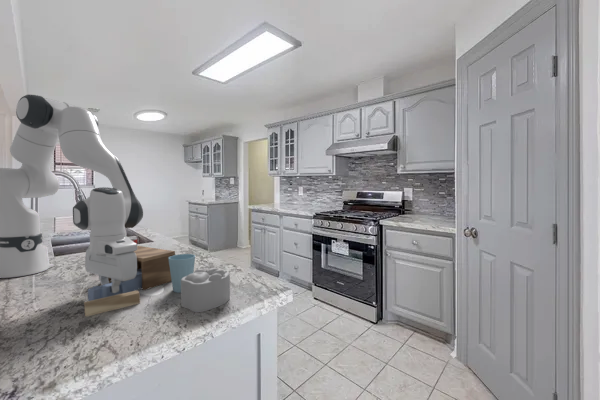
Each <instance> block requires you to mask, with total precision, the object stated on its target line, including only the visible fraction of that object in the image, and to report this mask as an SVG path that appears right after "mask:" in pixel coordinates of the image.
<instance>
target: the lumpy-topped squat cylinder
mask: <svg viewBox="0 0 600 400" xmlns="http://www.w3.org/2000/svg"><path fill="white" fill-rule="evenodd" d="M230 274H231V273H230V272H229V271H228V270H224V269H222V268H217V267H211V268H209V269H206V270H205V269H204V268H197V269H195V270H194V273H192V274H189V275H188V276H185V277H183V278H182V279H181V293H180V303H181V304H180V307H183V308H185V309H188V310H189V311H191V312H193V313H194V312H195V313H201V312H202V313H203V312H206V311H209V310H213V309H215V308H217V307H220V306H222V305H224V304H227V302H228V301H229V300H230V299H231V287H230V285H231V284H230V283H231V280H230V279H231V278H230Z"/></svg>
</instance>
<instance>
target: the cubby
mask: <svg viewBox="0 0 600 400" xmlns="http://www.w3.org/2000/svg"><path fill="white" fill-rule="evenodd" d="M134 252H135V253H136V256H137V269H142V288H141V290H142V291H146V290H149V289H153V288H155V287H158V286H162V285H165V284H168V283H172V280H171V273H170V266H169V259H168V258H169V257H170V256H173V255H176V251H175V250H170V249H163V248H155V247H148V246H143V245H137V250H136V251H134ZM108 280H109V282H112V281H111V278H108Z"/></svg>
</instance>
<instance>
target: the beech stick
mask: <svg viewBox="0 0 600 400" xmlns="http://www.w3.org/2000/svg"><path fill="white" fill-rule="evenodd" d="M140 295H141V294H140V291H139V290H135V291H132V292H127V293H123V294H118V295H114V296H109V297H105V298H100V299H96V300H91V301H88V300H87V301H84V302H83V306H84V307H83V309H84V316H85V317H86V318H87V317H90V316H91V317H92V316H94V315H98V314H99V315H100V314H103V313H106V312H111V311H115V310H118V309H123V308H127V307H130V306H135V305H138V304H141V299H140V298H141V296H140Z"/></svg>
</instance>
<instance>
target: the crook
mask: <svg viewBox="0 0 600 400" xmlns="http://www.w3.org/2000/svg"><path fill="white" fill-rule="evenodd" d="M110 286H112V282H109V283H108V284H105V285H101V284H100V285H94V286H92V287H90V288H88V289H87V297H88V298H87V301H91V300H96V299H100V298H105V297H109V296H114V295H118V294H123V293H127V292H132V291H136V290H137V291H139V290H142V269H137V274H136V277H135V278H134V279H131V280H127V281H121V283H120V285H119V291H118V292H116V293H112V292H110Z"/></svg>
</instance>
